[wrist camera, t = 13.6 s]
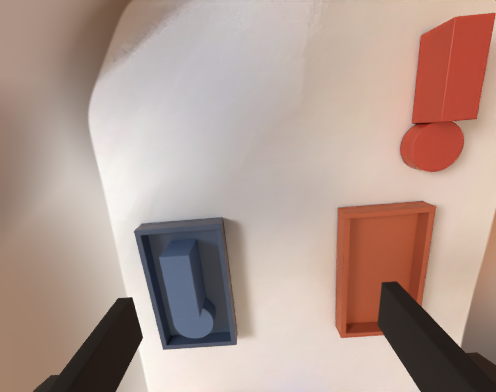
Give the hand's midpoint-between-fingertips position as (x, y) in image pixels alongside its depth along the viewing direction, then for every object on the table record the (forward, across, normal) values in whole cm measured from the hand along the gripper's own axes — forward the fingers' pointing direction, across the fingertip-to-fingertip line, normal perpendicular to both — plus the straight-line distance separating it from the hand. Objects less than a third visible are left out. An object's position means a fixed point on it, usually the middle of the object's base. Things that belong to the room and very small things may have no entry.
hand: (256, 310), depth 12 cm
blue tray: (+14, -8, -8) cm, 18 cm away
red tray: (+14, +14, -8) cm, 21 cm away
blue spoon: (+13, -8, -8) cm, 18 cm away
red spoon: (+14, +18, +10) cm, 25 cm away
